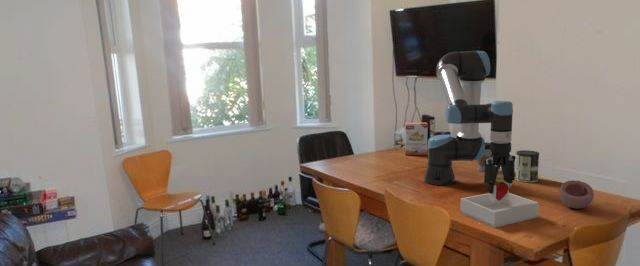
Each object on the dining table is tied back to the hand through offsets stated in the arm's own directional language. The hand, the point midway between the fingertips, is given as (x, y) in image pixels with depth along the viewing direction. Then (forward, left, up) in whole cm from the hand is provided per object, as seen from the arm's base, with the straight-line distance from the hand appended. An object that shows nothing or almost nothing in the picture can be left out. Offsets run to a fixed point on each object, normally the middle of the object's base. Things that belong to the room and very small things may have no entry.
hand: (498, 199), depth 171 cm
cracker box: (-108, +38, -7) cm, 115 cm away
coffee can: (-31, +50, -7) cm, 59 cm away
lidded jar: (-24, +25, -7) cm, 35 cm away
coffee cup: (-55, +45, -7) cm, 71 cm away
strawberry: (0, 0, 0) cm, 0 cm away
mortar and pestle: (+8, +33, -7) cm, 35 cm away
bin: (0, 0, -6) cm, 6 cm away
